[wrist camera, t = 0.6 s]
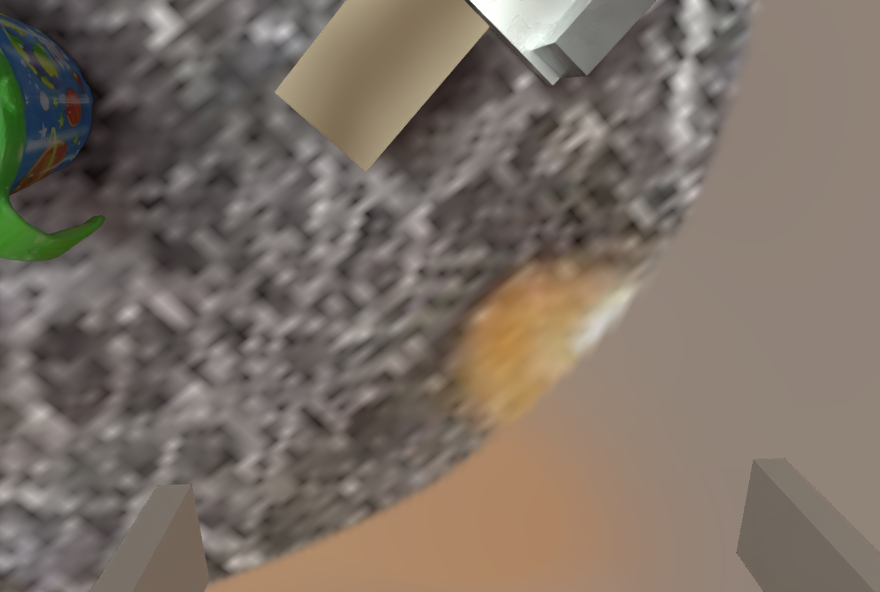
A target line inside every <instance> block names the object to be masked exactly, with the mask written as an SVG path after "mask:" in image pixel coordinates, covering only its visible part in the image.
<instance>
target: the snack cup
mask: <svg viewBox="0 0 880 592" xmlns="http://www.w3.org/2000/svg"><path fill="white" fill-rule="evenodd" d="M92 105H93V97H92V94H91V91H90V87H89V86H88V85H87V84H86V82H85V80H84V78H83V77H82V75H81V71H80V68H79V67H78V66H77V64H76V63H75V61H74V60H73V59H72V58H71V57H70V56H69V55H68V54H67V53H66V52H65V51H64V50H63V49H62V48H61V47H60V46H58V45H57V44H56V43H55V42H53V41H52V40H51V39H50V38H49V37H48V36H47V35H45V34H44V33H43V32H41V31H39V30H37V29H35V28H34V27H31V26H29V25H27V24H24V23H22V22H20V21H18V20H16V19H14V18H12V17H9V16H6V15H5V14H2V13H0V258H5V259H12V260H20V261H40V260H48V259H53V258H56V257H58V256H60V255H61V254H63V253H64V252H66V251H67V250H69V249H70V248H71V247H73V246H74V245H76V244H78V243H79V242H80V241H81V240H82V239H84V238H86V237H87V236H89V235H90V234H92V233H93V232H94V231H95V230H96V229H97V228H98V227H100V226H101V225H102V224H103V222H104V220H105V217H104V216H103V215H99V216H94V217H92V218H90V219H89V220H87V221H86V222H85V223H84V224H83V225H79V226H76V227H73V228H69V229H66V230H62V231H59V232H56V233H53V234H50V235H49V234H47V233H45V232H43V231H41V230H39V229H37V228H36V227H34V226H32V225H31V224H29V223H27V222H26V221H25V220H24V219H23V218H22V217H21V216H19V215H18V214H17V212H16V211H15V210H14V209H13V208H12V205H11V203H10V201H9V197H8V196H10V195H12V194H14V193H16V192H18V191H20V190H22V189H24V188H26V187H27V186H29V185H31V184H33V183H35V182H37V181H39V180H41V179H43V178H44V177H46V176H48V175H49V174H51V173H53V172H55V171H57V170H59V169H60V168H62V167H64V166H65V165H67V164H69V163H70V162H71V161H72V160H73V159H74V158H76V157H77V156H78V152H79V151H80V150H81V148H82V147H83V146H84V144H85V142H86V140H87V137H88V135H89V132H90V129H91V126H92Z"/></svg>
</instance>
